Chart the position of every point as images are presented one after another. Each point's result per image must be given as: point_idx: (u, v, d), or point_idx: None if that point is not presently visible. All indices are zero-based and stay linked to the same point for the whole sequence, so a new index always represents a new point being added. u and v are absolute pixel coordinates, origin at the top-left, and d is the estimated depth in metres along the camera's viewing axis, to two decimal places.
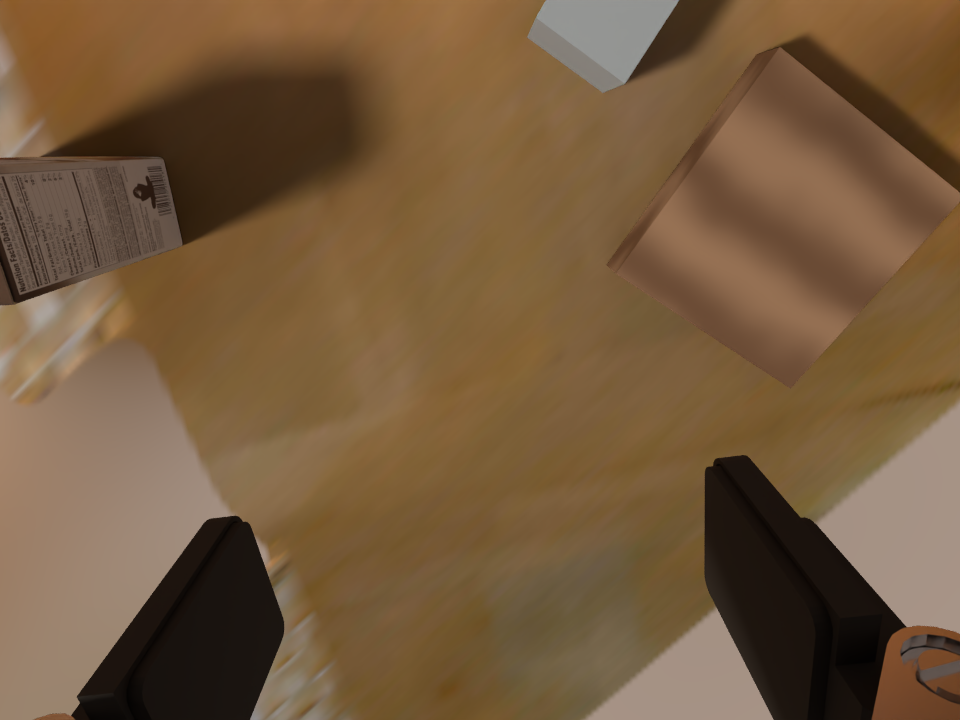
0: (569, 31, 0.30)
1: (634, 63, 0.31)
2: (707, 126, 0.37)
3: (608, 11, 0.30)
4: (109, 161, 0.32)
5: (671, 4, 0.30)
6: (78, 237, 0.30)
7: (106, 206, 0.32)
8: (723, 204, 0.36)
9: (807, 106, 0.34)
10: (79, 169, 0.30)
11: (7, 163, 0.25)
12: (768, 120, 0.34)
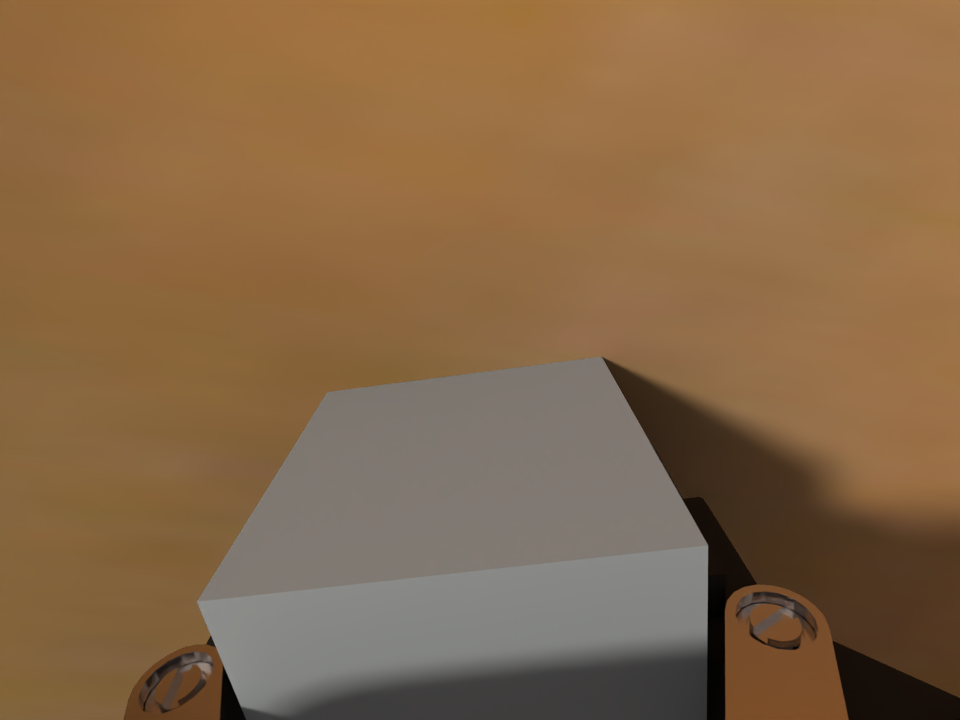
0: (275, 710, 0.07)
1: None
2: None
3: None
4: None
5: None
6: None
7: None
8: None
9: None
10: None
11: None
12: None
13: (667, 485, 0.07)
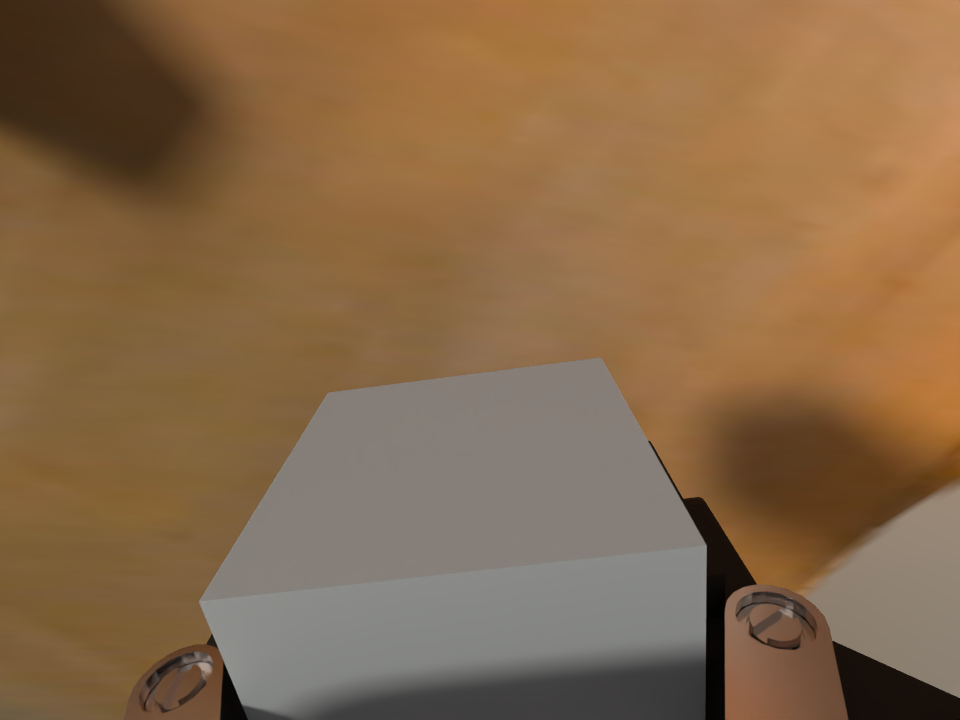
0: (277, 710, 0.07)
1: None
2: None
3: None
4: None
5: None
6: None
7: None
8: None
9: None
10: None
11: None
12: None
13: (666, 486, 0.07)
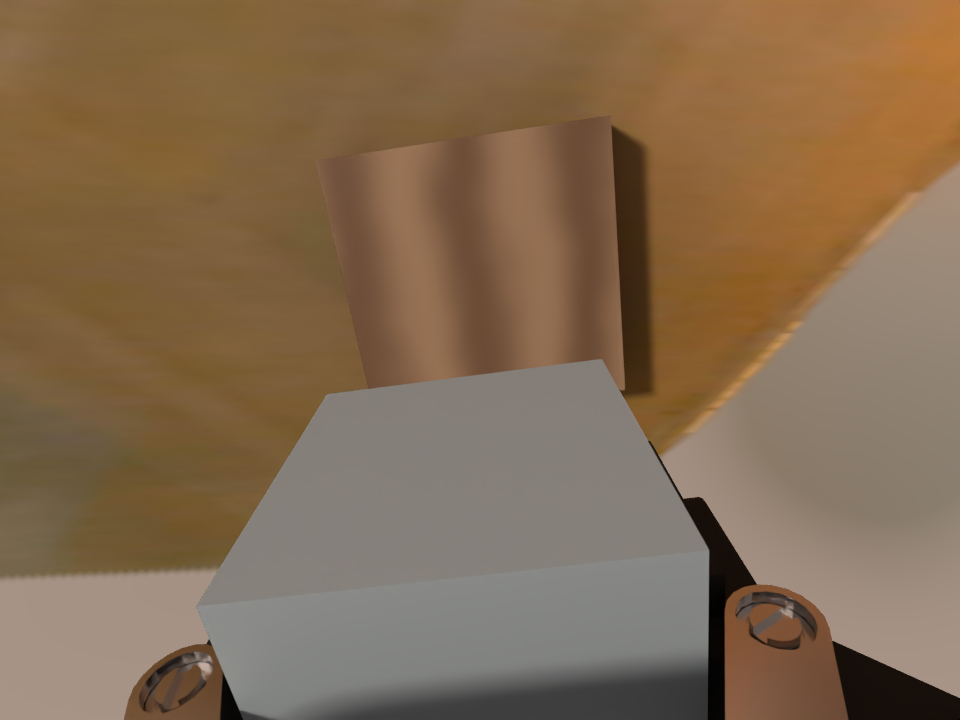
0: (274, 716, 0.07)
1: None
2: None
3: None
4: None
5: None
6: None
7: None
8: (458, 200, 0.31)
9: (587, 190, 0.31)
10: None
11: None
12: (551, 167, 0.30)
13: (668, 489, 0.07)
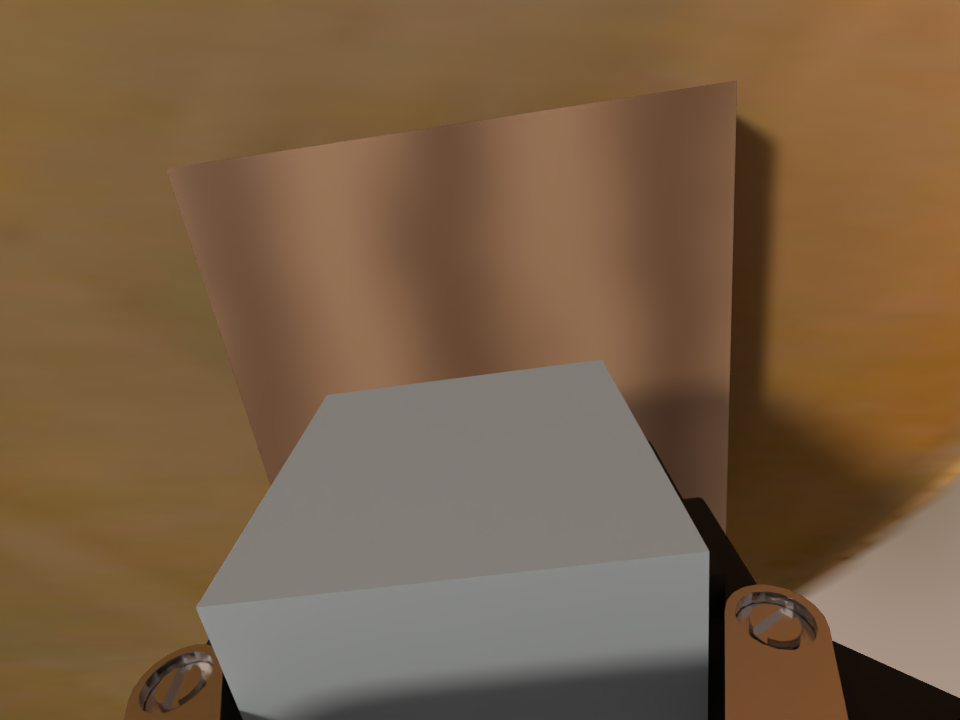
0: (274, 716, 0.07)
1: None
2: None
3: None
4: None
5: None
6: None
7: None
8: (440, 243, 0.17)
9: (682, 225, 0.16)
10: None
11: None
12: (615, 182, 0.16)
13: (668, 490, 0.07)
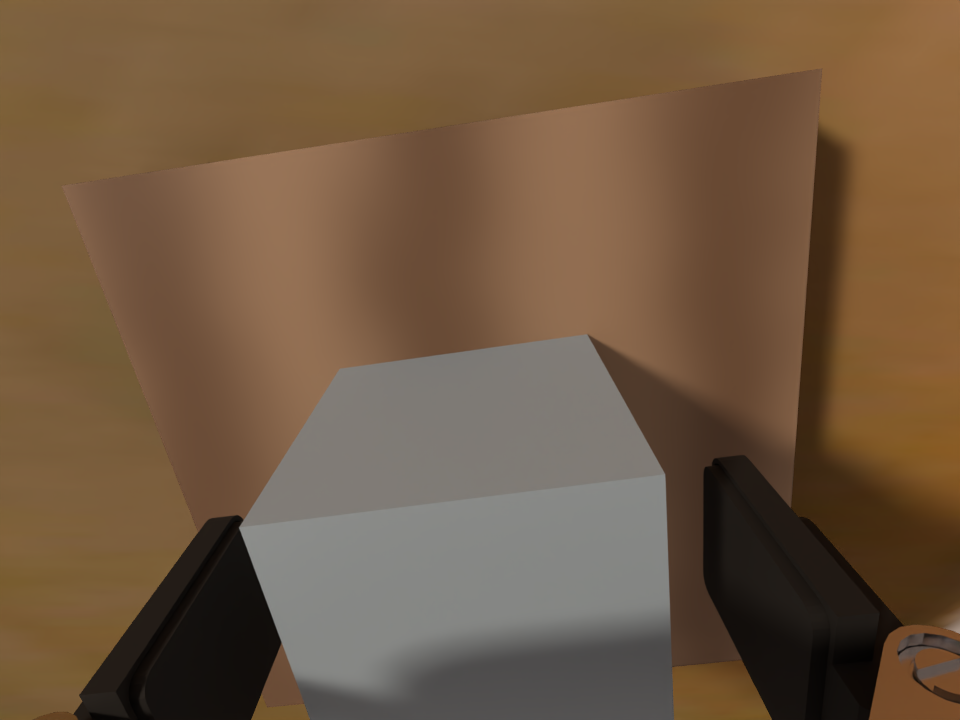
0: (304, 625, 0.09)
1: None
2: None
3: (437, 670, 0.09)
4: None
5: None
6: None
7: None
8: (424, 281, 0.13)
9: (741, 258, 0.13)
10: None
11: None
12: (656, 203, 0.12)
13: (636, 432, 0.09)
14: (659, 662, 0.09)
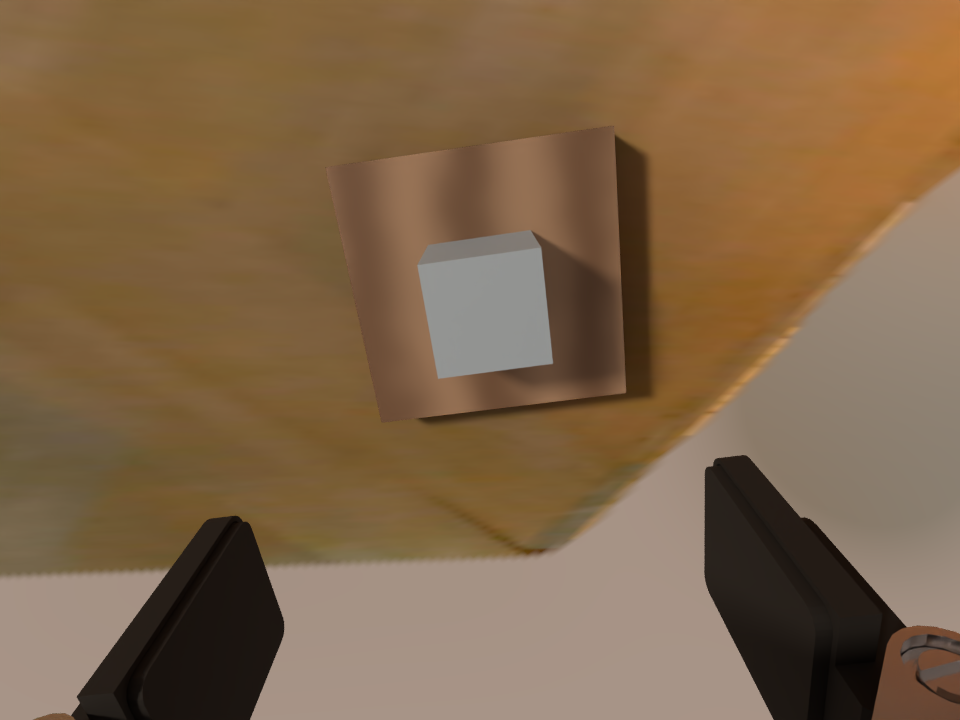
0: (432, 302, 0.28)
1: (458, 373, 0.29)
2: None
3: (473, 320, 0.28)
4: None
5: (520, 363, 0.29)
6: None
7: None
8: (464, 207, 0.32)
9: (590, 198, 0.32)
10: None
11: None
12: (555, 175, 0.31)
13: (536, 243, 0.28)
14: (544, 317, 0.28)
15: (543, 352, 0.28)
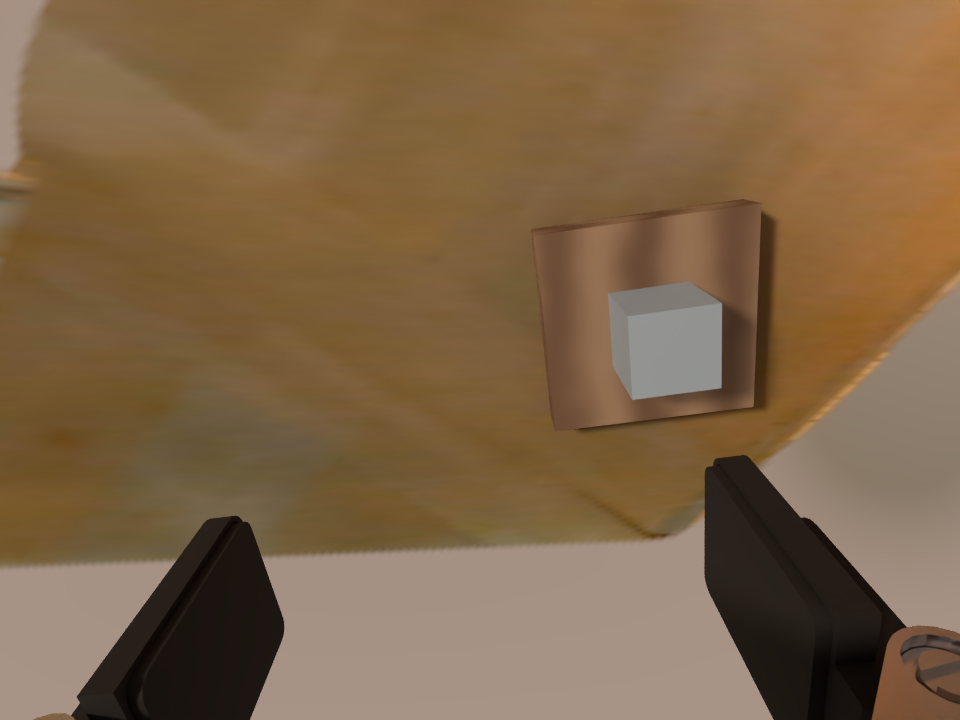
0: (635, 343, 0.37)
1: (648, 395, 0.38)
2: (677, 209, 0.42)
3: (665, 356, 0.37)
4: None
5: (696, 388, 0.38)
6: None
7: None
8: (639, 264, 0.41)
9: (738, 257, 0.40)
10: None
11: None
12: (712, 240, 0.40)
13: (713, 298, 0.37)
14: (718, 354, 0.37)
15: (715, 379, 0.37)
